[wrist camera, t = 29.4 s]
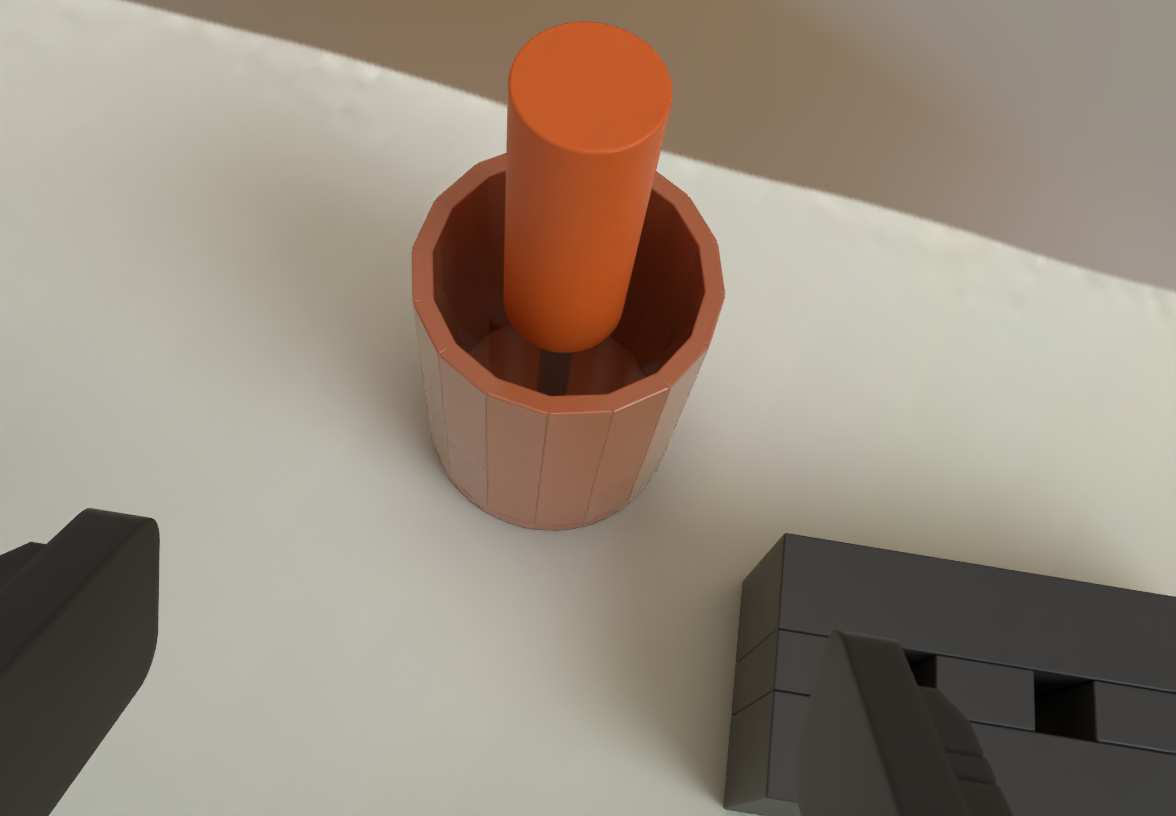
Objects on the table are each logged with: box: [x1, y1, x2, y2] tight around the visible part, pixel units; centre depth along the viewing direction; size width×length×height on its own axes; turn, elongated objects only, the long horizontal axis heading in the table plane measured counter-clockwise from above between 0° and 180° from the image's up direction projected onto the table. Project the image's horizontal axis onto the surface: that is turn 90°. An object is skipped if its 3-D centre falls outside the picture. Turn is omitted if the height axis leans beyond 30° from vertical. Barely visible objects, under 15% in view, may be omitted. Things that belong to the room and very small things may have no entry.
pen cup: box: [412, 153, 725, 530], centre depth 29 cm, size 7×7×9 cm
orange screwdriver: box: [503, 22, 673, 396], centre depth 26 cm, size 3×3×15 cm
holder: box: [724, 533, 1176, 816], centre depth 29 cm, size 6×14×5 cm, turn 82°
